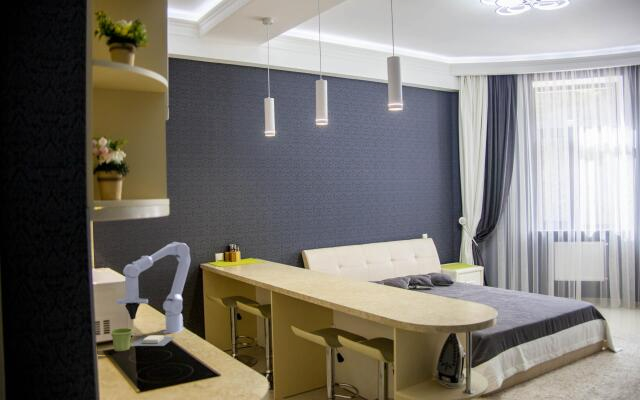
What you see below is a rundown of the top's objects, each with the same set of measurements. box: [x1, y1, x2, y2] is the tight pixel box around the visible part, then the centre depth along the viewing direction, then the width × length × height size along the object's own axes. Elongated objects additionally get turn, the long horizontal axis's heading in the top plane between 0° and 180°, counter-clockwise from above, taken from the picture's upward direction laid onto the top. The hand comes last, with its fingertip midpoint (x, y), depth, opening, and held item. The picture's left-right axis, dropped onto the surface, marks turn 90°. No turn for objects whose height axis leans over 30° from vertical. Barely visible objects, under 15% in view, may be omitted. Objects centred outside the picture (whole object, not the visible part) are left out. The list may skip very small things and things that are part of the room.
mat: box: [130, 336, 176, 347], centre depth 250 cm, size 14×16×1 cm
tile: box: [143, 334, 165, 343], centre depth 250 cm, size 7×2×7 cm
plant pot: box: [109, 327, 134, 352], centre depth 238 cm, size 9×9×9 cm
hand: (133, 318), depth 254 cm, fingers closed
